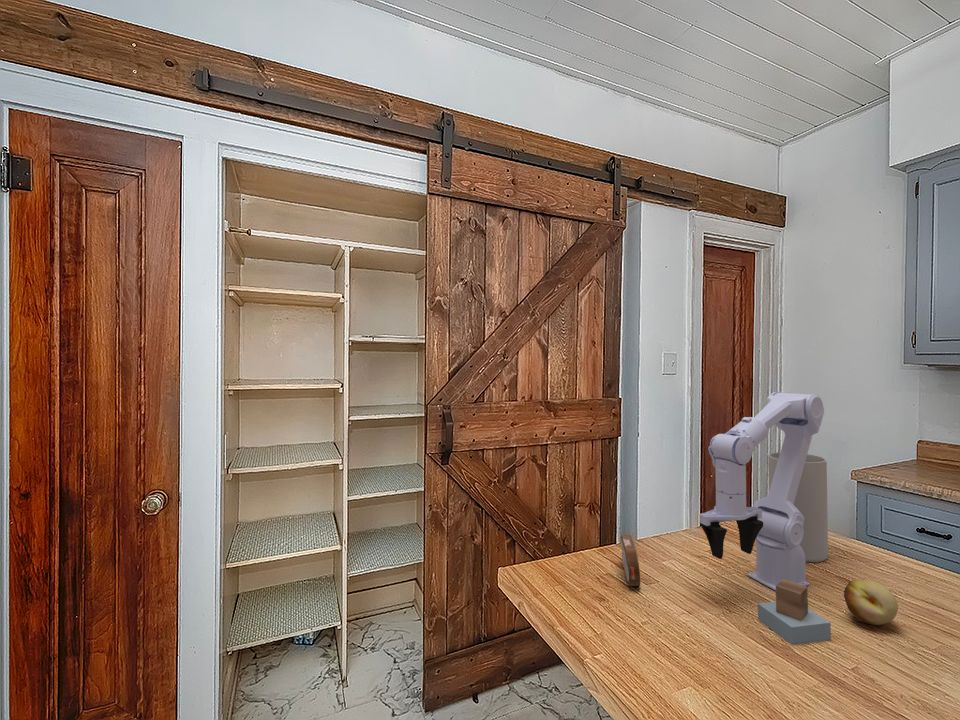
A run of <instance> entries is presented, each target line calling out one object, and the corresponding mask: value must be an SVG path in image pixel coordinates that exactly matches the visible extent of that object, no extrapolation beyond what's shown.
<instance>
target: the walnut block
mask: <svg viewBox="0 0 960 720" xmlns="http://www.w3.org/2000/svg"><path fill="white" fill-rule="evenodd" d="M808 596H809V595H808V586H803V585H800V584H797V583H794V582H791V581H788V580H784V579H783V580H782V581H780V582H779V583H778V584H777V585H776V591H775V602H776V612H777V613H780V614H783V615H785V616H788V617H791V618H794V619H796V620H799V621H802V620H803V619H804V617H805V616H806V615H807V614H808V609H809V604H808V603H809V602H808V600H809V599H808V598H809V597H808Z"/></svg>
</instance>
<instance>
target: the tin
mask: <svg viewBox="0 0 960 720" xmlns="http://www.w3.org/2000/svg"><path fill="white" fill-rule="evenodd" d="M620 544H621V560H622V565H623V570H624V575H625V579H626V583H627V586H629V587H631V586H632V587H641V573H640V572H641V571H640V564H639V558H638V552H637V547H636V545H635V543H634V539H633V536H632V534H629V535H621V536H620Z"/></svg>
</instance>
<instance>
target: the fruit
mask: <svg viewBox="0 0 960 720" xmlns="http://www.w3.org/2000/svg"><path fill="white" fill-rule="evenodd" d="M843 599H844V601H845V605H846V606H847V609H848V611H849V612H850V613H851V614H852V615H853V616H854V617H855V618H856V619H858V620H859V621H860V622H863V623H865V624H868V625H873V626H881V625H886V624H889V623H891V622H892V621H893V620H894V619H895V618H896V616H897V614H898V610H899V605H898V601H897V598H896V597H895V595H894V594H893V592H891V591H890V589H888V588H887V587H886V586H885V585H883V584H881V583H880V582H879V583H878V582H877V581H874V580H869V579H865V578H864V579H852V580H850V581H849V582H848V583H847V584H846V586H845V588H844V590H843Z"/></svg>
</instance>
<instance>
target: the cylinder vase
mask: <svg viewBox="0 0 960 720" xmlns="http://www.w3.org/2000/svg"><path fill="white" fill-rule="evenodd" d="M780 452H781V451H779V452H771V453H769V454H768V455H767V456H768V458H767V459H768V463H767V464H768V465H767V466H768V467H767V469H768V491H769V490H770V486H771V483H772V480H773V476H774V473H775V469H776V466H777V462H778V459H779V455H780ZM827 462H828V461H827V458H825V457H822V456H818V455H814V454H807V457H806V461H805V465H804V468H803V472H802V475H801V479H800V483H799V486H798V490H797V494H796V497H795V501H794V506H795V507H796V508H797V509H798V510H799V511H800V512H801V514H802V515H803V517H804V524H803V531H804V534H803V539H802V541H801V543H800V544H799V545H800V546H801V547H802V549H803V551H804V554H805V563H820V562H823V561H825V560H827V559H828V558H829V533H828V531H829V525H828V523H829V522H828V469H827V468H828V467H827V464H828V463H827ZM772 513H774V512H772ZM776 514H778V513H776ZM779 515H781V514H779ZM783 516H785V515H783ZM786 517H788V516H786Z"/></svg>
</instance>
